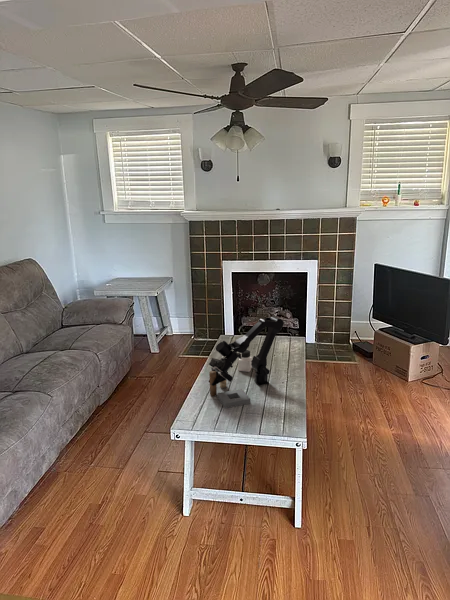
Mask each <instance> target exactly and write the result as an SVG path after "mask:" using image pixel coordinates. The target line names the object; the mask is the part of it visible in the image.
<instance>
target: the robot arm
mask: <svg viewBox="0 0 450 600" xmlns="http://www.w3.org/2000/svg"><path fill="white" fill-rule="evenodd" d="M284 324H285V323H284V320H283V319H282V318H280V317H278V316H275V315H273V316H270V317H265V318H259V319H258V321H257V322H256V323H255V324H254V325H253V326H252V327H251V328H250V329H249V330H248V331H247V332H246V333H245V334H244V335H242V336H241V337H238V338H237V339H235V340H234V341H233V342H230V343H228V342H227V341H226V340H223V341H220V342H219V343H218V344H217V345H216V346H215V351H216V353H219V354H220V355H221V356H223V357H222V358H220V359H218V358H215V357H211V360H210V361H209V363H208V365H209V366H211V367H210V368H211V371H216V378H215V380H214V381H213V383H212V385H213V386H214V385H217V384H220V382H222V381H224V380H226V381H228V382H230V383H231V382H232V381H233V377H234V376H232V375H231V374H230V373H229V372H228V371H229V370H230V368H231V369H232V368H233V364H234V363H235V362H236V361H237V359H239V358H240V359H241V354H240V353H244V352H245V351H246V350H248V348H250V344H251V342H252V341H253V340H254V339H256V337H257V336H258V335H259V334H260V333H261V332H262V331H263V330H264V329H265V328H267V331H266V335H265V338H264V340H263V342H262V344H261V347H260V349H259V353H258V354H257V355H253V356H252V361H251V362H252V363H251V366H252V368H251V369H253V370H254V371H255V374H254V382H255V383H256V384H257V385H258V386H262V385H268V384H270V382H269V380H268V377H269V376H268V375H269V374H270V369H268V368H267V364H268V355H269V352H270V351H271V349H272V348H271V347H272V346H273V343H274V340H275V339H276V336H277V334H278V333H279V332H280V331H281V330H282V328H283V327H284ZM208 383H209V384H210V378H209V380H208Z"/></svg>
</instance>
